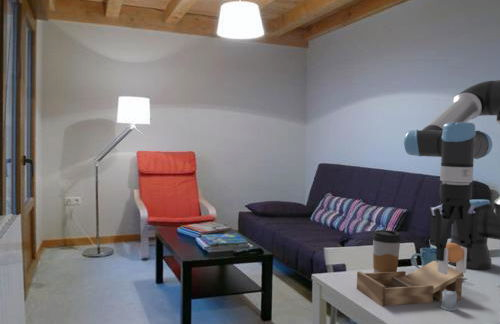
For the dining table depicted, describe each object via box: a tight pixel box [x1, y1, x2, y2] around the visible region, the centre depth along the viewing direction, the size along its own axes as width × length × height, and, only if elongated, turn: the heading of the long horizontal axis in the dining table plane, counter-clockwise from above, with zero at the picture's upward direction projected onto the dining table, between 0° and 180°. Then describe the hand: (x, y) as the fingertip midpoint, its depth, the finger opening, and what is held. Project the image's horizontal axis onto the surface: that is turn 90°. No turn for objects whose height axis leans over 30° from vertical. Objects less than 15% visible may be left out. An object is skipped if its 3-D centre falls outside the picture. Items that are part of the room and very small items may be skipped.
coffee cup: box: [372, 229, 402, 273], centre depth 133 cm, size 8×8×15 cm
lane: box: [356, 260, 465, 307], centre depth 122 cm, size 26×13×8 cm, turn 104°
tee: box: [440, 290, 458, 312], centre depth 113 cm, size 4×4×4 cm
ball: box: [446, 242, 463, 263], centre depth 112 cm, size 5×5×5 cm
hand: (451, 271), depth 113 cm, fingers closed on ball, 5 cm apart
